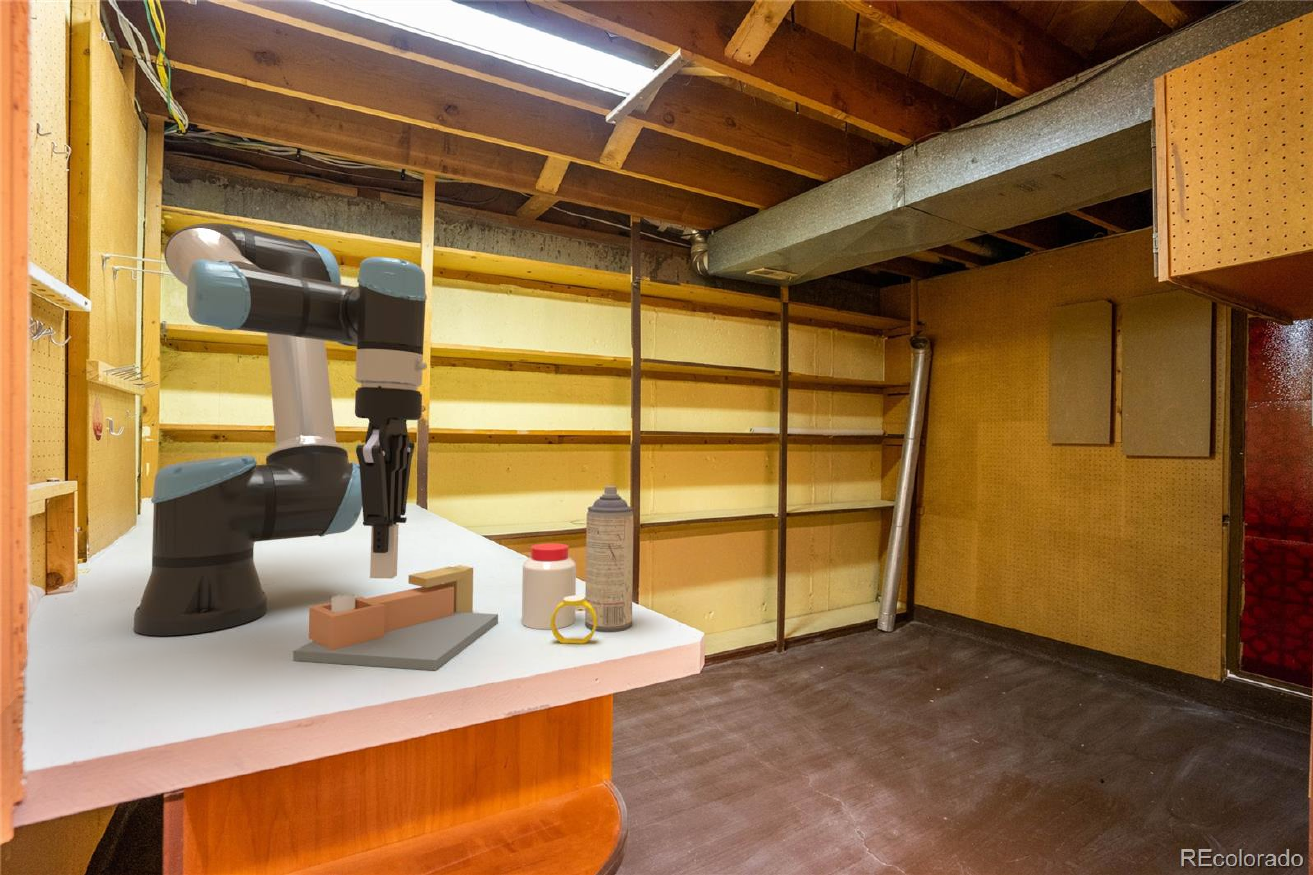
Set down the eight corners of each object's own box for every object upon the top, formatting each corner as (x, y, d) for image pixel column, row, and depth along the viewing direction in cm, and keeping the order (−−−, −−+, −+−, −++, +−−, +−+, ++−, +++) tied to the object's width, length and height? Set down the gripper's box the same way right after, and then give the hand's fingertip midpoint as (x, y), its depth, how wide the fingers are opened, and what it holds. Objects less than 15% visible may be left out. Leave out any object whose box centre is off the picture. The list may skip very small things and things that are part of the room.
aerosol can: (641, 624, 85) (643, 487, 85) (606, 635, 80) (608, 489, 80) (610, 614, 90) (612, 484, 90) (575, 624, 85) (577, 486, 85)
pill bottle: (564, 631, 82) (565, 552, 82) (512, 627, 83) (514, 549, 83) (582, 615, 89) (583, 543, 89) (534, 611, 91) (535, 540, 91)
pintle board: (293, 660, 70) (294, 600, 70) (397, 608, 91) (398, 562, 91) (435, 670, 67) (436, 607, 67) (508, 614, 89) (508, 567, 89)
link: (331, 650, 70) (332, 616, 70) (308, 638, 74) (309, 606, 74) (459, 616, 84) (460, 588, 84) (434, 608, 88) (435, 581, 88)
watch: (550, 648, 76) (548, 602, 76) (554, 640, 79) (551, 596, 79) (596, 645, 76) (594, 599, 76) (598, 638, 79) (596, 593, 79)
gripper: (402, 385, 66) (395, 592, 67) (436, 391, 79) (430, 564, 80) (333, 382, 66) (327, 591, 66) (379, 389, 79) (373, 563, 79)
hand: (383, 576), depth 73 cm, fingers closed
